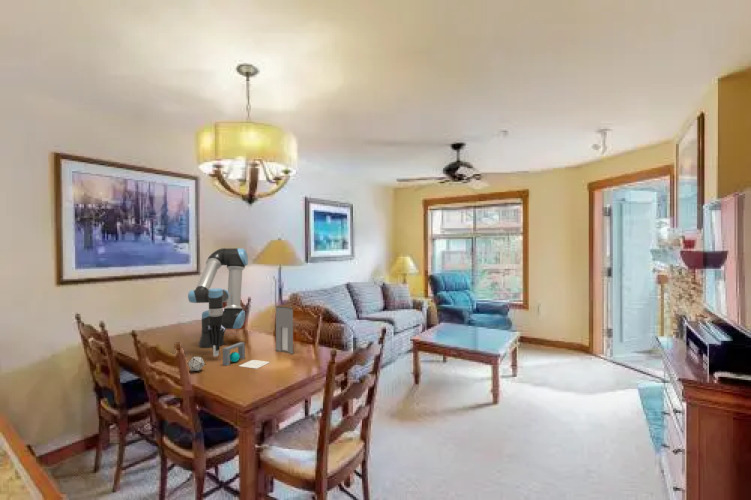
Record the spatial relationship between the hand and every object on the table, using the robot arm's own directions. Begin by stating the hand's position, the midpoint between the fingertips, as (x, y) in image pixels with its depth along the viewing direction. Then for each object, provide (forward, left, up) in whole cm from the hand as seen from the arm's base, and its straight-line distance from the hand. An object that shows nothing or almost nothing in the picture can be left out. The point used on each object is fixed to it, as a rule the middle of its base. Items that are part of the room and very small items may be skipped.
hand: (215, 355), depth 222 cm
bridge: (+13, 0, -2) cm, 13 cm away
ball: (+14, 0, +1) cm, 14 cm away
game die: (+6, -20, -2) cm, 21 cm away
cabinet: (+26, +30, -2) cm, 40 cm away
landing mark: (+27, 0, -2) cm, 27 cm away
